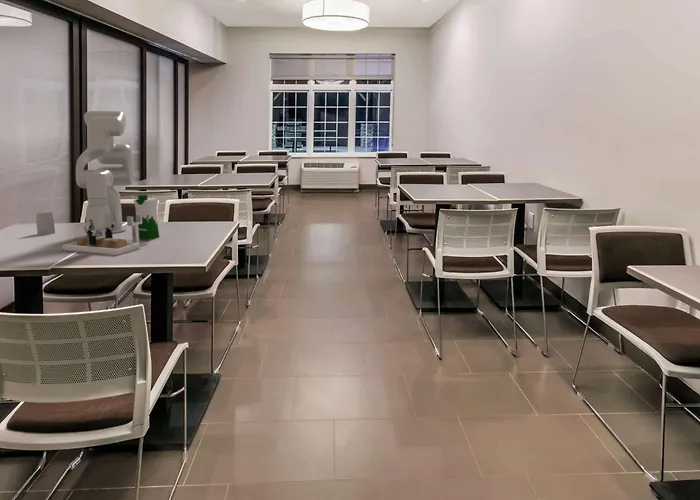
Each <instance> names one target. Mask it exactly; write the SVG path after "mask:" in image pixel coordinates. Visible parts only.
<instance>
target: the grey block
mask: <svg viewBox="0 0 700 500" xmlns="http://www.w3.org/2000/svg"><path fill="white" fill-rule="evenodd" d="M35 219H36V222H35V223H36V232H37V234H38V235H39V236H43V235H53V234H52V233H54V234H56V229H55V219H54V216H53V212H52V211H49V212H38V213H36V218H35Z"/></svg>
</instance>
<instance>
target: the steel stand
mask: <svg viewBox="0 0 700 500" xmlns="http://www.w3.org/2000/svg"><path fill="white" fill-rule="evenodd" d="M110 214H111V213H110ZM111 218H112V217H111ZM126 223H127V226H128V227H129V226H130V227H131V231H132V232H131V234H132V240H129V239H128V240H127V239H126V241H127V242H131V243H140V248H141V247H144V246H147V245H148V241H142V240H141V241H140V239H139V230H138V224H142V215H136V214H135V222H134V216H126ZM105 231H106V230H105V229H102V233H101V238H106V237H105Z"/></svg>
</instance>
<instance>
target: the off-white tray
mask: <svg viewBox="0 0 700 500" xmlns="http://www.w3.org/2000/svg"><path fill="white" fill-rule="evenodd" d="M137 249H138V250H141V247H140V243H131V242H127V246H126V247H122V248H119V249H113V248H101V247H89V246H77V240H76V241H74V242H73V241H72V242H69V243H65V244H62V251H66V252H75V253H76V252H77V253H86V252H87V253H88V254H102V255H110V254H111V255H112V256H121V255H124V254H127V252H128V253H130V252H133V251H138V250H137ZM123 253H124V254H123ZM120 254H121V255H120Z"/></svg>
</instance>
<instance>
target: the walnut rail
mask: <svg viewBox="0 0 700 500" xmlns="http://www.w3.org/2000/svg"><path fill="white" fill-rule="evenodd" d="M75 239H76V241H77V246H89V247H101V248H113V249H119V248H122V247H126V246H127V241H126V240H127V239H124V238H113V239H112V238H102V237H97V236H96V243H97V244H96V245H89V236H80V237H79V236H78V237H76V238H75Z"/></svg>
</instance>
